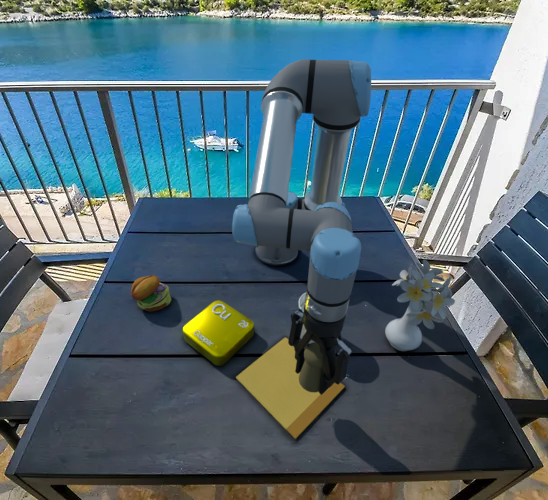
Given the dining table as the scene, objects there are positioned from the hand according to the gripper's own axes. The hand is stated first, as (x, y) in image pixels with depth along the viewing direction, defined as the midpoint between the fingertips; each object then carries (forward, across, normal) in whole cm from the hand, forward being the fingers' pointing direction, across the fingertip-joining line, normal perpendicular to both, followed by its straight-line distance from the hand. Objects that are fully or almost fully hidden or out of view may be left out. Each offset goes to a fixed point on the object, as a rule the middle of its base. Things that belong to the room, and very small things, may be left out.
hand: (312, 379), depth 77 cm
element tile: (+9, -29, -4) cm, 31 cm away
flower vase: (+9, +7, +31) cm, 33 cm away
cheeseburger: (+9, -53, -11) cm, 55 cm away
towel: (+9, -6, 0) cm, 11 cm away
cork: (0, 0, 0) cm, 1 cm away
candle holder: (+9, -12, +16) cm, 22 cm away
